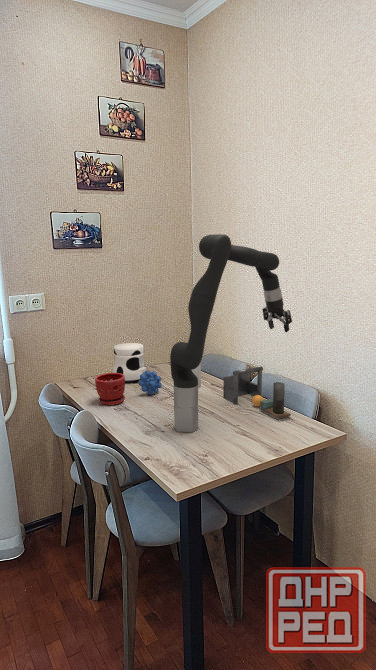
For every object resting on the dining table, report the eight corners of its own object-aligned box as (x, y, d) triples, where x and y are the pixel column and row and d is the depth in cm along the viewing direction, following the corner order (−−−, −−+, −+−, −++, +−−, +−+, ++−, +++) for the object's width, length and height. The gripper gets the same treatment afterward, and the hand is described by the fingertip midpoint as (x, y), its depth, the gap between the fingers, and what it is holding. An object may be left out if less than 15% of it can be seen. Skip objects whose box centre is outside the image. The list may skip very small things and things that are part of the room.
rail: (291, 419, 181) (291, 417, 181) (281, 421, 179) (281, 419, 178) (268, 408, 193) (269, 406, 193) (259, 410, 191) (259, 409, 190)
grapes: (142, 399, 206) (141, 374, 204) (137, 395, 212) (136, 370, 210) (165, 395, 211) (165, 370, 209) (160, 391, 217) (159, 367, 215)
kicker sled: (290, 415, 182) (291, 385, 179) (278, 418, 179) (279, 387, 176) (271, 406, 192) (272, 377, 190) (260, 409, 189) (260, 379, 187)
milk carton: (181, 388, 222) (181, 350, 218) (188, 384, 228) (187, 347, 224) (194, 390, 218) (194, 352, 215) (201, 386, 224) (200, 348, 221)
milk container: (111, 376, 243) (109, 343, 240) (142, 373, 248) (141, 341, 245) (115, 385, 227) (114, 350, 223) (149, 382, 232) (148, 348, 228)
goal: (262, 399, 205) (263, 367, 202) (235, 404, 198) (235, 371, 195) (249, 392, 213) (249, 362, 210) (222, 398, 206) (222, 366, 203)
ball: (263, 408, 193) (264, 397, 192) (251, 408, 194) (252, 397, 193) (263, 404, 198) (263, 393, 197) (252, 404, 198) (252, 393, 197)
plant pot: (112, 395, 212) (111, 370, 210) (131, 401, 204) (130, 375, 202) (90, 402, 203) (88, 377, 200) (109, 409, 194) (108, 382, 192)
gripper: (255, 299, 201) (262, 331, 208) (280, 302, 190) (287, 336, 197) (266, 292, 205) (272, 324, 211) (291, 295, 194) (297, 328, 201)
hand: (279, 329), depth 204 cm, fingers open, 8 cm apart
